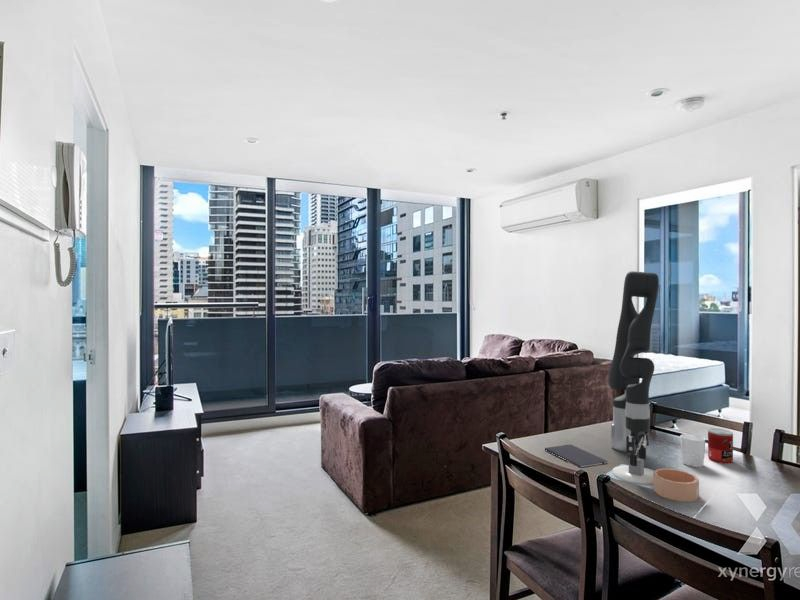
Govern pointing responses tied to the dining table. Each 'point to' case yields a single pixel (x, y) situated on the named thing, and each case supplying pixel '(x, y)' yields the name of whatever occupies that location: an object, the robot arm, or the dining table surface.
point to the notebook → (576, 455)
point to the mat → (629, 482)
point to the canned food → (720, 445)
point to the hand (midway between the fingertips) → (638, 462)
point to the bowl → (676, 484)
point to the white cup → (692, 450)
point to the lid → (634, 473)
